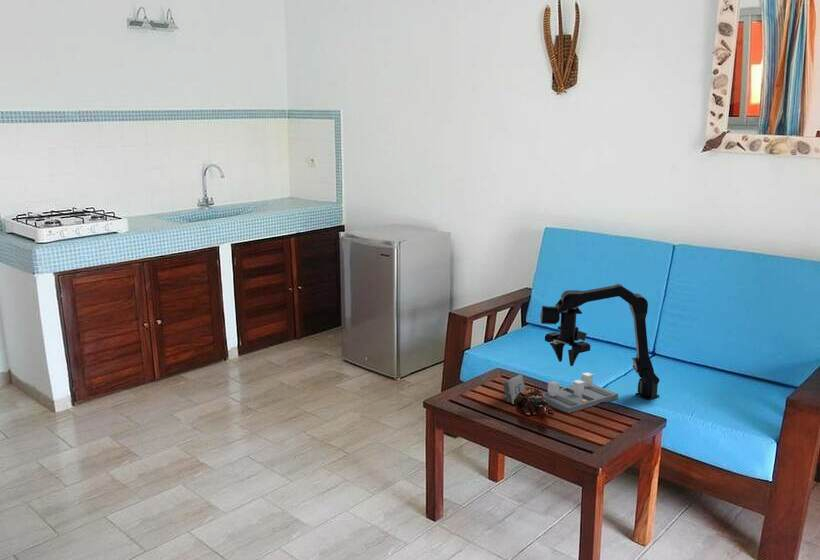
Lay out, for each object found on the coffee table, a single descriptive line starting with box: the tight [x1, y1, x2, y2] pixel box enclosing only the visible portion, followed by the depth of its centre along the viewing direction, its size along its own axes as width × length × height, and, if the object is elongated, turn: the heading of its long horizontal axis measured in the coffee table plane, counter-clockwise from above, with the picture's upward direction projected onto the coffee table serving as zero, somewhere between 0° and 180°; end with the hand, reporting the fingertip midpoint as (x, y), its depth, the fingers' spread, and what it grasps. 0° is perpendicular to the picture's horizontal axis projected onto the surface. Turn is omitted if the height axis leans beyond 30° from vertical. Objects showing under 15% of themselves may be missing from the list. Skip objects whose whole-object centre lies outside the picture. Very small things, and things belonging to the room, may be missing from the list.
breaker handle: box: [572, 379, 585, 398], centre depth 269 cm, size 3×3×6 cm
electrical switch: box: [502, 374, 526, 405], centre depth 267 cm, size 9×5×9 cm, turn 141°
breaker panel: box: [541, 371, 619, 414], centre depth 269 cm, size 16×26×7 cm, turn 123°
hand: (565, 363), depth 273 cm, fingers open, 6 cm apart
